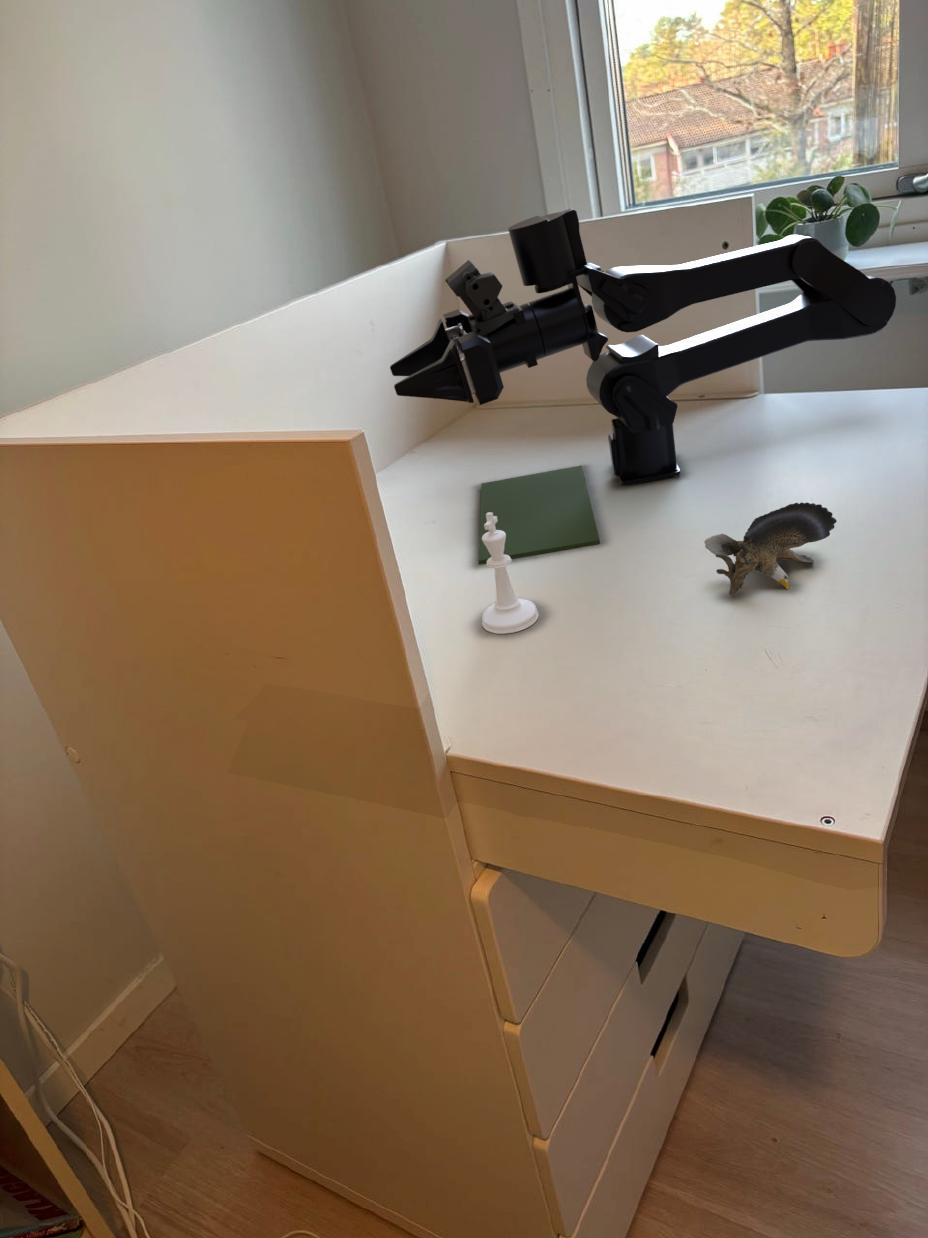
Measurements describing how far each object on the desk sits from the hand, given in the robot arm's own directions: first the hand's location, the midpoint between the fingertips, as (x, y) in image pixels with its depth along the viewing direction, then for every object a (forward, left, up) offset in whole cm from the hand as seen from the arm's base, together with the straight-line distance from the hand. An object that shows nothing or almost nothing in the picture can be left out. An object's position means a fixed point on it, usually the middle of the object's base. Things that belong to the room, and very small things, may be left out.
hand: (393, 380), depth 96 cm
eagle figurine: (-31, +26, -17) cm, 44 cm away
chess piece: (-9, +26, -16) cm, 32 cm away
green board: (-12, +2, -16) cm, 21 cm away
